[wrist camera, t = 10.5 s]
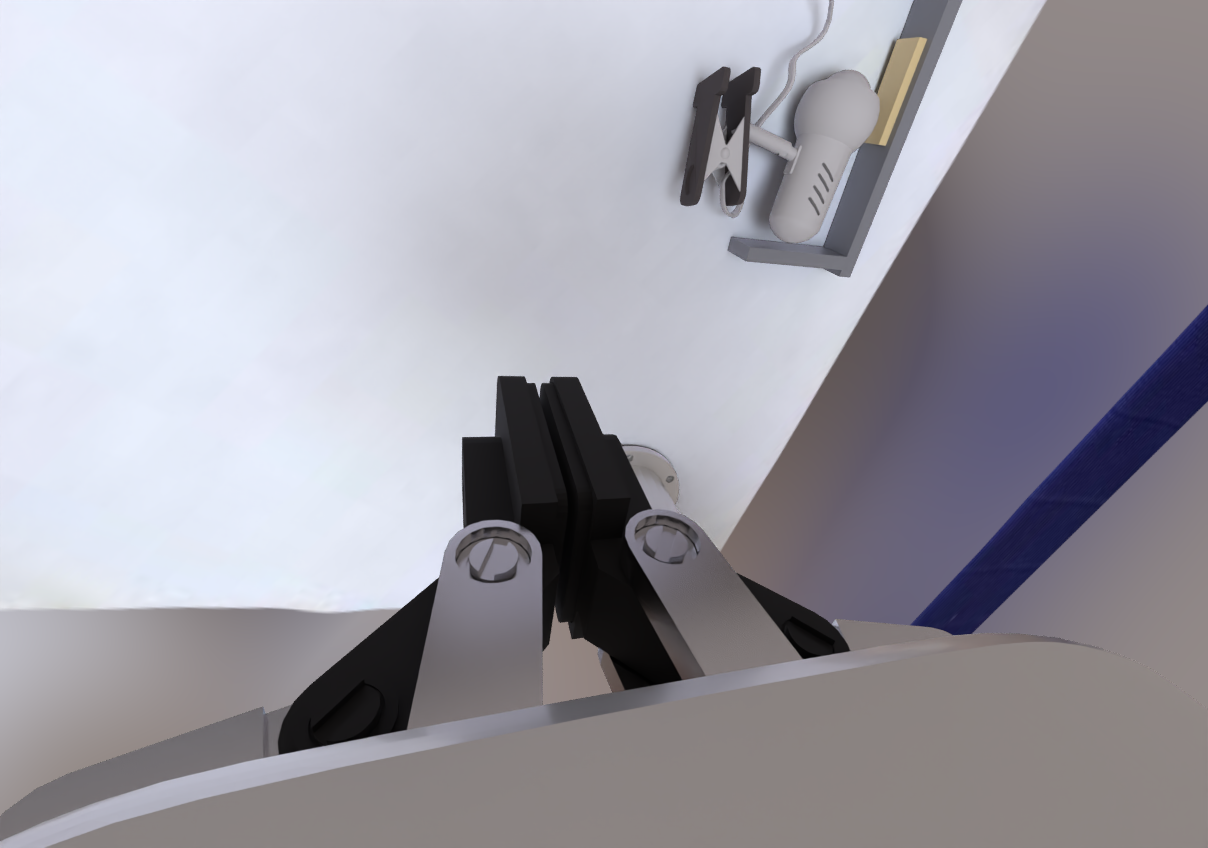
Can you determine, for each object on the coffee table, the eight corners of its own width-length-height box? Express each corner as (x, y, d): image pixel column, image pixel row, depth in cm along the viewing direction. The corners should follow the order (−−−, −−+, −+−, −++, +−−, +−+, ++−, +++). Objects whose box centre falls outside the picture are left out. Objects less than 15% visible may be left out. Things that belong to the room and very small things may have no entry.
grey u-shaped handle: (826, 266, 42) (849, 277, 40) (725, 256, 39) (744, 268, 37) (982, -146, 29) (1029, -166, 27) (849, -202, 27) (889, -230, 24)
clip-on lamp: (754, -108, 30) (656, 201, 35) (821, -192, 24) (693, 192, 29) (899, -13, 34) (794, 255, 38) (987, -66, 28) (850, 257, 33)
